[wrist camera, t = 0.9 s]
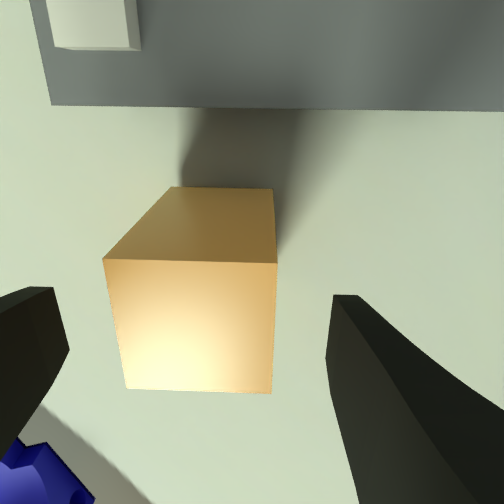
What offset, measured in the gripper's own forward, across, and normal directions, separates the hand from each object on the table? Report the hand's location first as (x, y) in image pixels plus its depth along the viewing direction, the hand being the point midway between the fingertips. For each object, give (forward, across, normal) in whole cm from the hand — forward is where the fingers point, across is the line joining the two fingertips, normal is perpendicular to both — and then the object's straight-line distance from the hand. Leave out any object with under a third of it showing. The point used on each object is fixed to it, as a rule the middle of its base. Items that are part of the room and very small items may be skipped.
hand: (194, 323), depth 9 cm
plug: (+7, 0, 0) cm, 7 cm away
